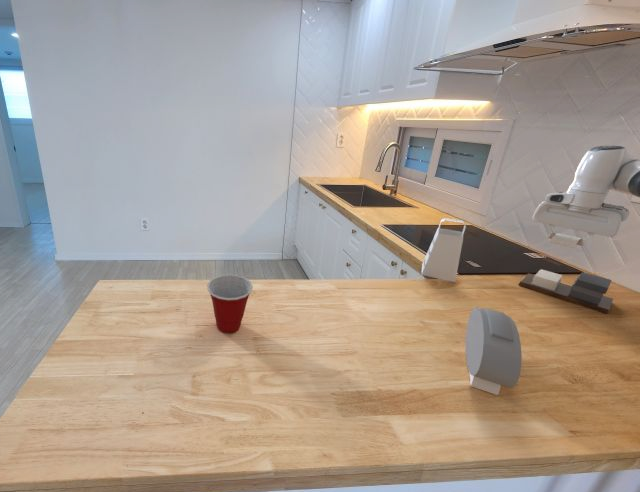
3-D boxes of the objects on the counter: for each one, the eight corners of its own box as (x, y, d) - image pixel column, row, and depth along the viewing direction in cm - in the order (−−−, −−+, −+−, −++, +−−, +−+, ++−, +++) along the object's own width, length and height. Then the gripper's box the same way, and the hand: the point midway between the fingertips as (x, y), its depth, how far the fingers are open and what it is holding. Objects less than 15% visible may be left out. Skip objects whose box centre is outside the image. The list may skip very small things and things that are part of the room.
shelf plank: (610, 302, 108) (613, 298, 108) (607, 314, 101) (609, 309, 100) (526, 276, 124) (528, 273, 123) (518, 285, 116) (519, 281, 116)
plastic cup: (197, 332, 81) (198, 288, 76) (218, 311, 90) (220, 270, 86) (238, 346, 77) (241, 300, 72) (256, 322, 86) (259, 281, 82)
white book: (579, 242, 110) (581, 238, 110) (574, 248, 105) (576, 243, 104) (555, 237, 115) (557, 232, 114) (549, 242, 109) (551, 237, 108)
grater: (421, 264, 129) (436, 214, 121) (453, 271, 124) (470, 219, 117) (421, 274, 120) (437, 221, 112) (455, 282, 116) (473, 227, 108)
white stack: (559, 283, 116) (563, 275, 115) (554, 291, 110) (558, 282, 109) (537, 276, 120) (540, 268, 119) (530, 283, 115) (534, 275, 113)
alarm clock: (505, 408, 64) (531, 354, 59) (468, 395, 67) (489, 342, 62) (490, 344, 83) (509, 299, 78) (461, 336, 86) (478, 292, 81)
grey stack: (602, 296, 109) (611, 279, 107) (599, 305, 103) (608, 288, 100) (572, 287, 114) (580, 271, 112) (567, 295, 108) (575, 278, 106)
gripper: (632, 206, 99) (610, 249, 104) (544, 192, 113) (529, 231, 118) (631, 209, 95) (608, 253, 100) (540, 194, 109) (524, 234, 115)
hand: (564, 241), depth 110 cm, fingers closed on white book, 6 cm apart
